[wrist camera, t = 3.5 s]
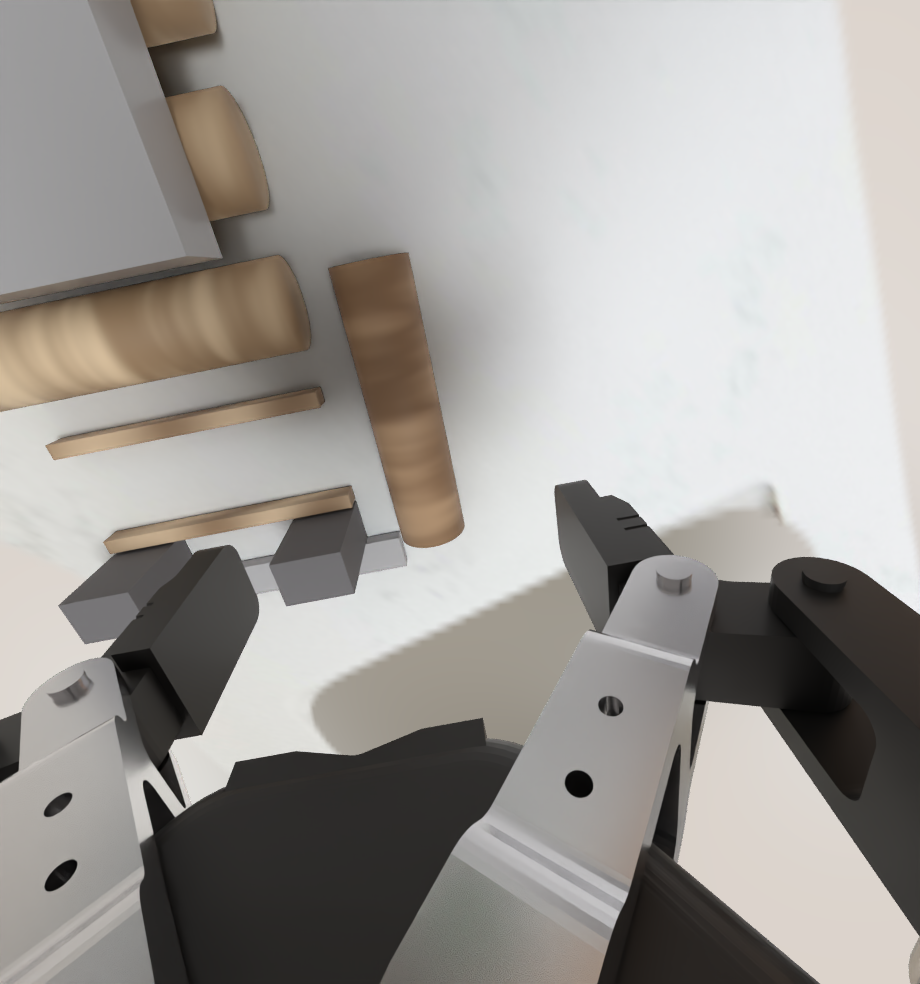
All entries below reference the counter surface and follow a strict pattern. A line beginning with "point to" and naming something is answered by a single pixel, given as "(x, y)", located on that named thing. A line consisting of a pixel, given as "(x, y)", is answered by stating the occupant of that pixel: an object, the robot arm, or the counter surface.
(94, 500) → the counter surface
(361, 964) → the robot arm
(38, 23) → the slab
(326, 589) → the bumper posts
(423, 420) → the roller
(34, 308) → the roller bed
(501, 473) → the counter surface
